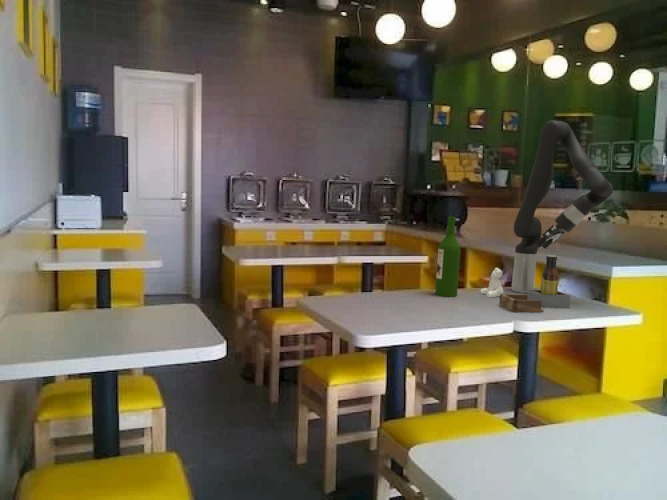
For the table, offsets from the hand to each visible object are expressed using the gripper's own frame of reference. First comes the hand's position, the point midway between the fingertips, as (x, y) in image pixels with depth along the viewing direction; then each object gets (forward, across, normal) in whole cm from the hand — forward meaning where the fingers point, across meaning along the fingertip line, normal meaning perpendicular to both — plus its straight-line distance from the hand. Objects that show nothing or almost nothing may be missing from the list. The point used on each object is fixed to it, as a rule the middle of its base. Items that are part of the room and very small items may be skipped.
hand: (540, 246), depth 255 cm
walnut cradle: (+19, +21, +17) cm, 33 cm away
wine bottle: (+39, +17, -8) cm, 44 cm away
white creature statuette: (+28, +3, +2) cm, 28 cm away
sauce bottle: (+14, +5, +20) cm, 25 cm away
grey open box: (+14, +5, +20) cm, 25 cm away
